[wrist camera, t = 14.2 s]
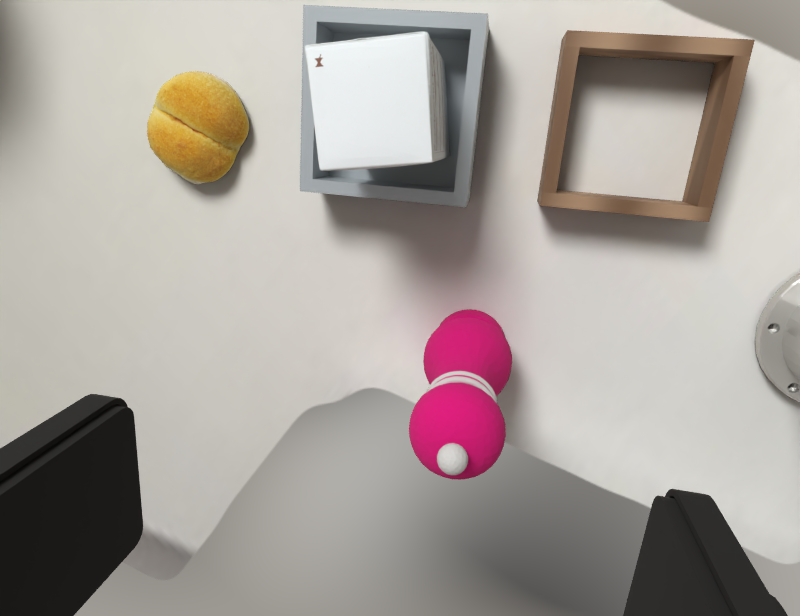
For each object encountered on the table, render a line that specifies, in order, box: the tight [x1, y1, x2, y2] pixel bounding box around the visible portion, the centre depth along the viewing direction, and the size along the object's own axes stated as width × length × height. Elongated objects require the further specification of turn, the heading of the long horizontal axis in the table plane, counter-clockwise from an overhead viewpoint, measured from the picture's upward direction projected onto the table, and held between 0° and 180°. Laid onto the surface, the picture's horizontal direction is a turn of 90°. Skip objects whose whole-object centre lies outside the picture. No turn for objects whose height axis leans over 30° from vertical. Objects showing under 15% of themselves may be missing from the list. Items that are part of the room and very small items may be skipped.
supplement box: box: [304, 31, 450, 171], centre depth 37 cm, size 7×7×13 cm
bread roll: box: [147, 71, 249, 184], centre depth 46 cm, size 8×9×4 cm
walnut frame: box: [537, 30, 754, 222], centre depth 40 cm, size 12×12×4 cm
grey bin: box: [300, 5, 489, 207], centre depth 42 cm, size 13×13×5 cm
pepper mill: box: [409, 310, 512, 479], centre depth 39 cm, size 7×7×20 cm
